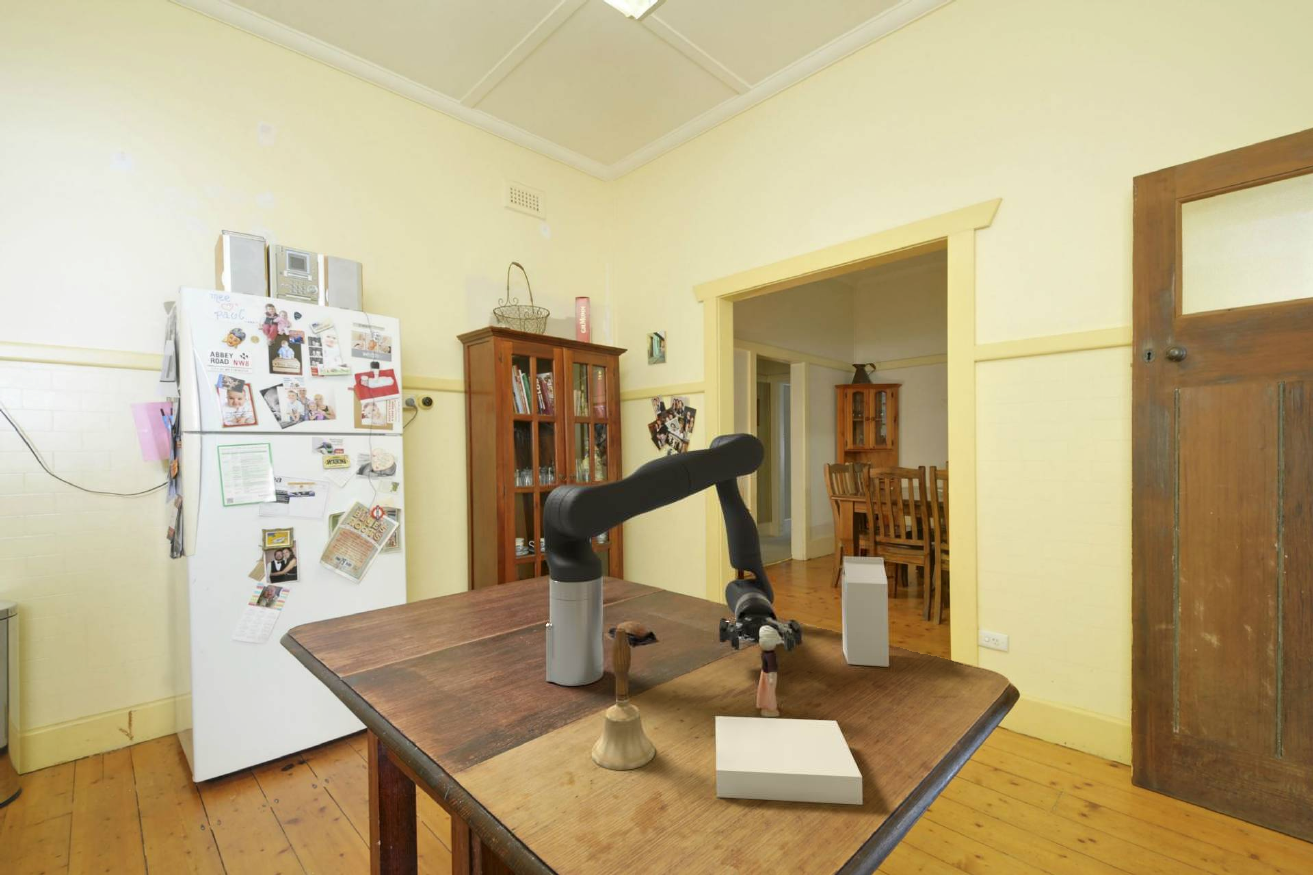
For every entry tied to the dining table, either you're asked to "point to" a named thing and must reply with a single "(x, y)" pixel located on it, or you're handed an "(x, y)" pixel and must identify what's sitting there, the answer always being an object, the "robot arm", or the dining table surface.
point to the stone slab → (785, 761)
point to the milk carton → (865, 611)
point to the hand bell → (622, 719)
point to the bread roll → (634, 633)
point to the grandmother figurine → (768, 672)
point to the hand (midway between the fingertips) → (763, 645)
